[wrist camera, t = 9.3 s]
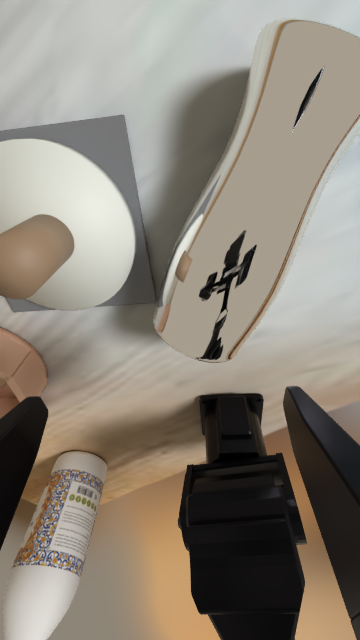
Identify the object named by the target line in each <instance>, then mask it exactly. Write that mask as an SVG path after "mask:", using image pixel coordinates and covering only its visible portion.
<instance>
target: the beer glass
mask: <svg viewBox="0 0 360 640" xmlns="http://www.w3.org/2000/svg"><path fill="white" fill-rule="evenodd" d="M359 134H360V37H359V36H357V35H355V34H353V33H351V32H349V31H346V30H344V29H341V28H339V27H336V26H333V25H329V24H326V23H322V22H318V21H313V20H308V19H299V18H284V19H278V20H274V21H271V22H269V23H268V24H266V25H265V26H264V27H263V28H262V29H261V31H260V33H259V35H258V38H257V41H256V45H255V49H254V54H253V58H252V63H251V68H250V72H249V77H248V81H247V86H246V90H245V94H244V98H243V102H242V105H241V109H240V112H239V115H238V118H237V121H236V124H235V126H234V129H233V132H232V134H231V136H230V139H229V141H228V143H227V146H226V148H225V150H224V152H223V154H222V156H221V158H220V160H219V162H218V164H217V166H216V167H215V169H214V171H213V173H212V175H211V177H210V178H209V180H208V182H207V184H206V186H205V187H204V189H203V191H202V193H201V194H200V196H199V198H198V200H197V202H196V204H195V205H194V207H193V209H192V211H191V213H190V215H189V216H188V218H187V220H186V222H185V224H184V226H183V228H182V230H181V232H180V234H179V236H178V238H177V241H176V243H175V246H174V248H173V251H172V253H171V256H170V259H169V261H168V265H167V268H166V271H165V274H164V277H163V281H162V285H161V289H160V292H159V297H158V301H157V305H156V309H155V312H154V314H153V324H154V327H155V329H156V331H157V332H158V334H159V335H160V337H161V338H162V339H163V340H164V341H165V342H166V343H167V344H168V345H170V346H171V347H172V348H174V349H175V350H177V351H178V352H180V353H182V354H184V355H186V356H188V357H190V358H193V359H196V360H199V361H204V362H210V363H221V362H226V361H229V360H231V359H232V358H234V357H235V356H236V355H237V353H238V351H239V350H240V348H241V347H242V346H243V344H244V343H245V342H246V341H247V339H248V338H249V337H250V335H251V334H252V333H253V331H254V330H255V329H256V327H257V326H258V325H259V323H260V322H261V320H262V319H263V318H264V316H265V315H266V313H267V312H268V310H269V309H270V307H271V305H272V304H273V302H274V300H275V298H276V297H277V295H278V293H279V292H280V290H281V288H282V286H283V284H284V282H285V280H286V277H287V275H288V273H289V271H290V269H291V267H292V264H293V262H294V260H295V257H296V255H297V252H298V250H299V247H300V245H301V243H302V240H303V238H304V235H305V233H306V230H307V228H308V225H309V223H310V220H311V218H312V215H313V213H314V211H315V208H316V206H317V204H318V201H319V199H320V197H321V194H322V192H323V190H324V189H325V187H326V185H327V183H328V181H329V179H330V177H331V175H332V173H333V172H334V170H335V169H336V167H337V165H338V164H339V162H340V161H341V159H342V158H343V156H344V155H345V153H346V152H347V150H348V149H349V148H350V146H351V145H352V144H353V142H354V141H355V139H356V138H357V137H358V136H359Z"/></svg>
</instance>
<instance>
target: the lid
mask: <svg viewBox="0 0 360 640" xmlns="http://www.w3.org/2000/svg"><path fill="white" fill-rule="evenodd" d="M135 254H136V230H135V224H134V220H133V216H132V214H131V211H130V209H129V206H128V204H127V202H126V200H125V198H124V196H123V194H122V193H121V191H120V190H119V188H118V187H117V185H116V184H115V182H114V181H113V180H112V179H111V178H110V177H109V175H108V174H107V173H106V172H105V171H104V170H103V169H102V168H101V167H100V166H98V165H97V164H96V163H95V162H94V161H92V160H91V159H90V158H88V157H87V156H86V155H84V154H82V153H80V152H79V151H77V150H75V149H73V148H71V147H69V146H66V145H64V144H61V143H58V142H54V141H51V140H45V139H37V138H32V139H12V140H7V141H2V142H0V295H1V296H4V297H6V298H10V299H17V300H20V299H27V300H29V301H32V302H34V303H36V304H39V305H42V306H45V307H49V308H54V309H60V310H82V309H87V308H91V307H94V306H97V305H99V304H102V303H103V302H105V301H107V300H109V299H110V298H111V297H112V296H114V295H115V294H116V293H117V292H118V291H119V290H120V288H121V287H122V286H123V284H124V283H125V281H126V279H127V277H128V275H129V273H130V270H131V268H132V266H133V262H134V259H135Z"/></svg>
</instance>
